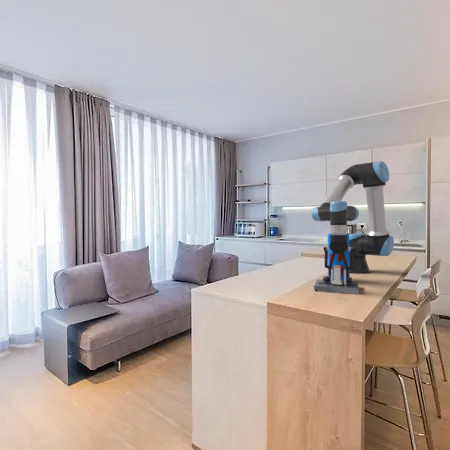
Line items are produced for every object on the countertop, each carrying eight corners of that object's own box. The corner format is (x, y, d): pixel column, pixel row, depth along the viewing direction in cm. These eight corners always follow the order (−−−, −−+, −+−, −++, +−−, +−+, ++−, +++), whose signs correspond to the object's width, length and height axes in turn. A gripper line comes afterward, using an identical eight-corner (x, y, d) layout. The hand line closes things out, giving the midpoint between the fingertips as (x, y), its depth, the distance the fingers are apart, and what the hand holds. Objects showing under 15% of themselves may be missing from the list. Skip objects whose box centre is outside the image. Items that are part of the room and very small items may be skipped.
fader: (333, 281, 146) (333, 265, 146) (342, 282, 144) (342, 265, 144) (332, 284, 141) (332, 266, 141) (341, 284, 140) (341, 267, 139)
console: (317, 284, 155) (317, 275, 154) (358, 286, 147) (358, 277, 147) (314, 291, 141) (313, 281, 141) (358, 294, 134) (358, 284, 134)
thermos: (351, 282, 156) (351, 234, 155) (329, 282, 158) (329, 234, 157) (347, 278, 167) (346, 233, 166) (327, 278, 169) (326, 233, 168)
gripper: (317, 234, 142) (317, 283, 143) (359, 234, 135) (359, 286, 135) (319, 233, 149) (319, 280, 150) (359, 233, 141) (359, 283, 142)
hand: (338, 283), depth 142 cm, fingers open, 5 cm apart
